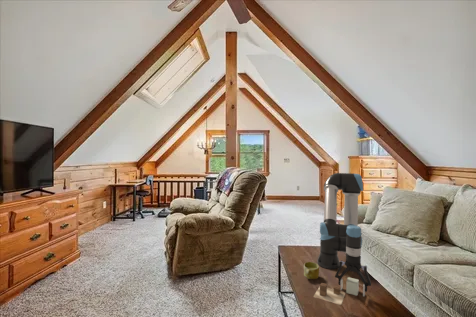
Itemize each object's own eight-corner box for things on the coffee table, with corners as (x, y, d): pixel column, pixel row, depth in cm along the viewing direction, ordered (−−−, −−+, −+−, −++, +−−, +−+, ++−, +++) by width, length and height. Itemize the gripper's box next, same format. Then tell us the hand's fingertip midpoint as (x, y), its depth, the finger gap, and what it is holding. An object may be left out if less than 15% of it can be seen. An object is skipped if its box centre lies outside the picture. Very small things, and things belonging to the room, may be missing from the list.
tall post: (321, 292, 142) (321, 282, 142) (326, 294, 141) (326, 284, 141) (319, 295, 140) (319, 285, 140) (325, 296, 138) (325, 286, 138)
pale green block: (347, 290, 148) (348, 277, 147) (358, 293, 145) (358, 279, 145) (346, 294, 143) (346, 281, 143) (357, 297, 140) (357, 283, 140)
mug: (307, 268, 171) (310, 256, 167) (320, 278, 164) (324, 266, 160) (296, 277, 163) (298, 265, 159) (309, 288, 156) (312, 275, 152)
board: (319, 287, 150) (320, 280, 150) (345, 294, 143) (345, 287, 143) (313, 298, 138) (313, 291, 138) (341, 307, 131) (341, 299, 131)
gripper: (330, 252, 146) (329, 290, 146) (376, 261, 134) (375, 303, 134) (332, 248, 153) (332, 285, 153) (377, 256, 140) (376, 297, 141)
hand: (352, 293), depth 144 cm, fingers open, 11 cm apart
